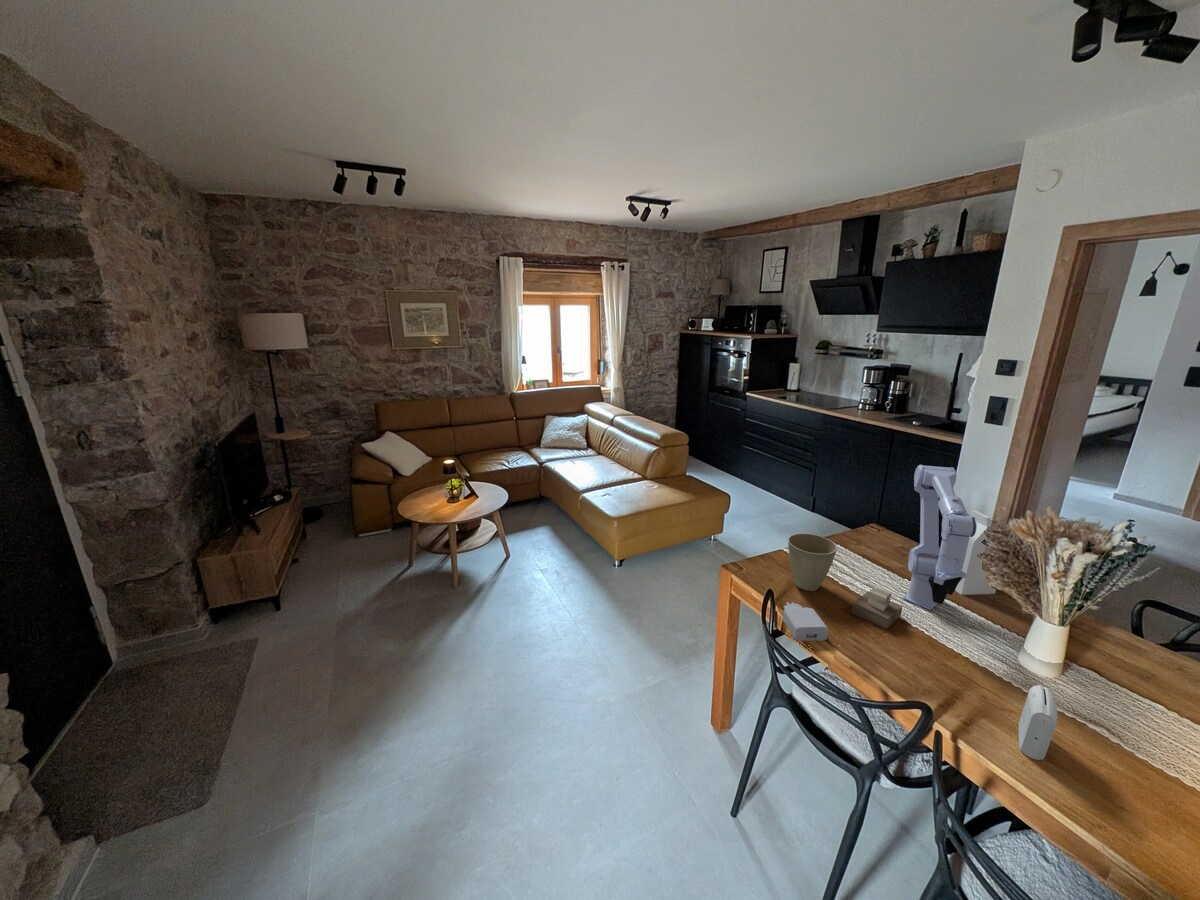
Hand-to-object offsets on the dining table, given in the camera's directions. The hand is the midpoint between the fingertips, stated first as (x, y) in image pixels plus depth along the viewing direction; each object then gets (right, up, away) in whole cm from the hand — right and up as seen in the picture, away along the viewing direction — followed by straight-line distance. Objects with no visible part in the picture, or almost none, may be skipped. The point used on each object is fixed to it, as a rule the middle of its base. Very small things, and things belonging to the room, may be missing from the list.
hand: (942, 597), depth 132 cm
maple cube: (-13, -5, +8) cm, 17 cm away
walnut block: (-14, -9, +10) cm, 19 cm away
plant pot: (-28, -4, +25) cm, 38 cm away
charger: (-39, -10, +6) cm, 40 cm away
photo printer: (-5, -21, -33) cm, 39 cm away
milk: (+26, -3, +25) cm, 36 cm away
